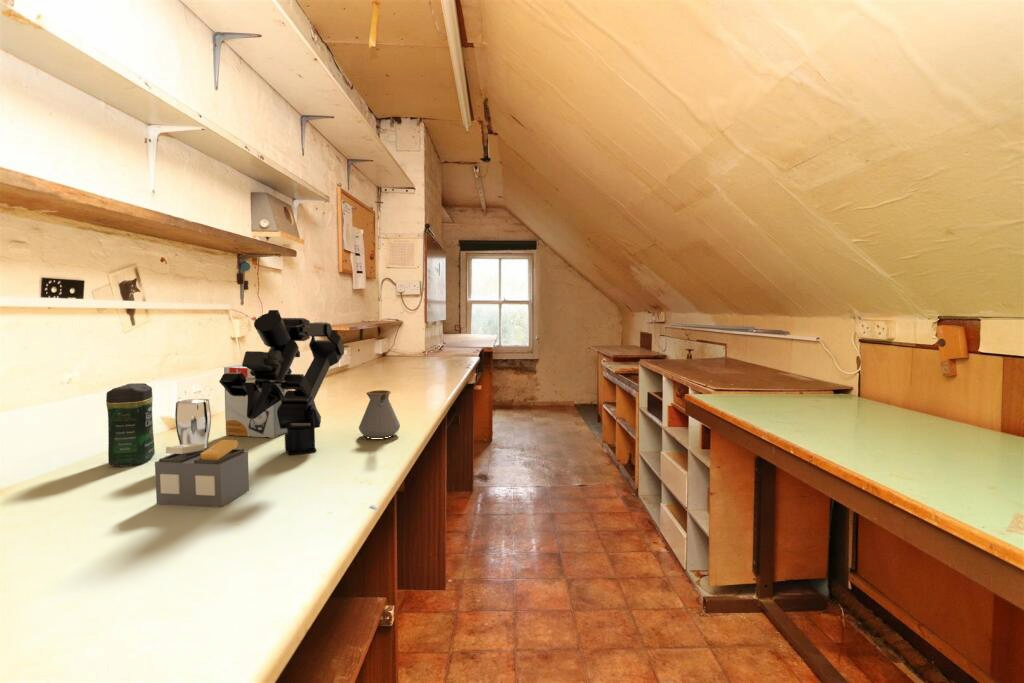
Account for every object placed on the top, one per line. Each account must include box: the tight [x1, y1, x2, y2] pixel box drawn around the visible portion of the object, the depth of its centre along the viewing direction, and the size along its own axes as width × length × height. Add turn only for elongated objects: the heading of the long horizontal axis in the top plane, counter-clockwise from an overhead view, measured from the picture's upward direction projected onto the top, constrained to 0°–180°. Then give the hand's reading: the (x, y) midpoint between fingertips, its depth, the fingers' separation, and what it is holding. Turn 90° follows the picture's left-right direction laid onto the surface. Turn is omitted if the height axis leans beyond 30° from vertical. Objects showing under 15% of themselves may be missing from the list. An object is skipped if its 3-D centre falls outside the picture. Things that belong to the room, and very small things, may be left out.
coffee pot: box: [358, 389, 401, 438], centre depth 134 cm, size 21×12×15 cm, turn 20°
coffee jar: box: [105, 382, 156, 467], centre depth 115 cm, size 10×8×19 cm
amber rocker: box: [201, 439, 239, 460], centre depth 93 cm, size 6×3×1 cm, turn 175°
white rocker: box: [165, 444, 205, 455], centre depth 94 cm, size 6×3×1 cm, turn 175°
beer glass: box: [174, 398, 212, 448], centre depth 113 cm, size 7×7×15 cm
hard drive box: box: [223, 363, 289, 439], centre depth 140 cm, size 16×8×20 cm, turn 80°
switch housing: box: [154, 447, 250, 508], centre depth 94 cm, size 8×13×8 cm, turn 85°
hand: (250, 417), depth 102 cm, fingers closed
